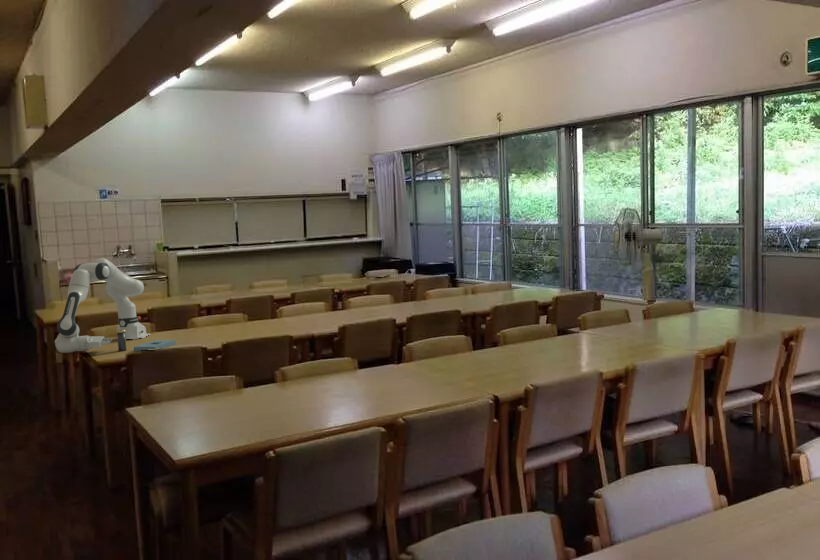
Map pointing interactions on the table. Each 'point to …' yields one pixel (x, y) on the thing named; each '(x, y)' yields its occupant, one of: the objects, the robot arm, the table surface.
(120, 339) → the dark grey cylinder
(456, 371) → the table surface
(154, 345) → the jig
